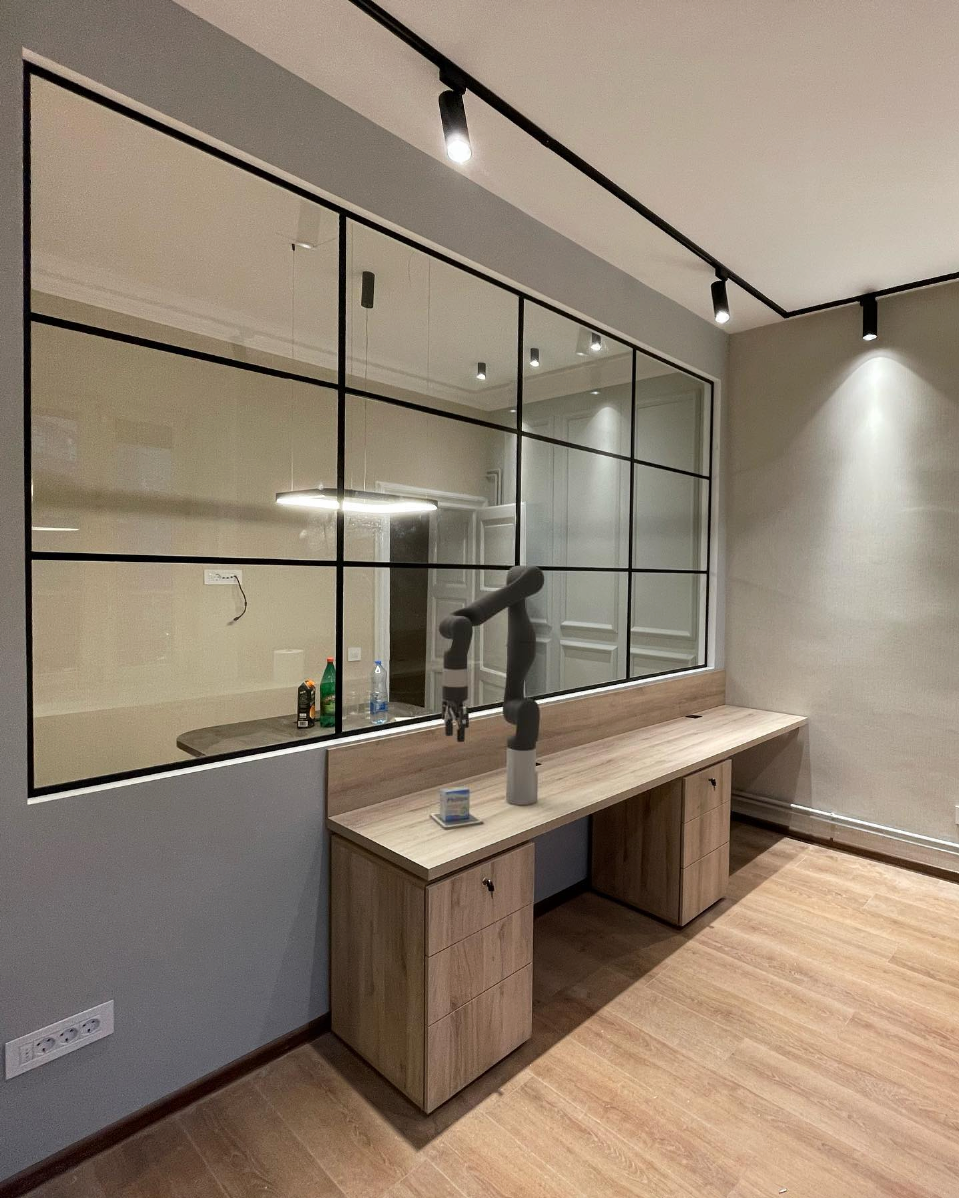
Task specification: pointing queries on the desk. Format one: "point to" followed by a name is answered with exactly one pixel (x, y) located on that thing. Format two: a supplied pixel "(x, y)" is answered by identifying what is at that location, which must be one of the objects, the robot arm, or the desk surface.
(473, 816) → the mat
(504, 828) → the desk surface
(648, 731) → the desk surface
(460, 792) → the medicine box
